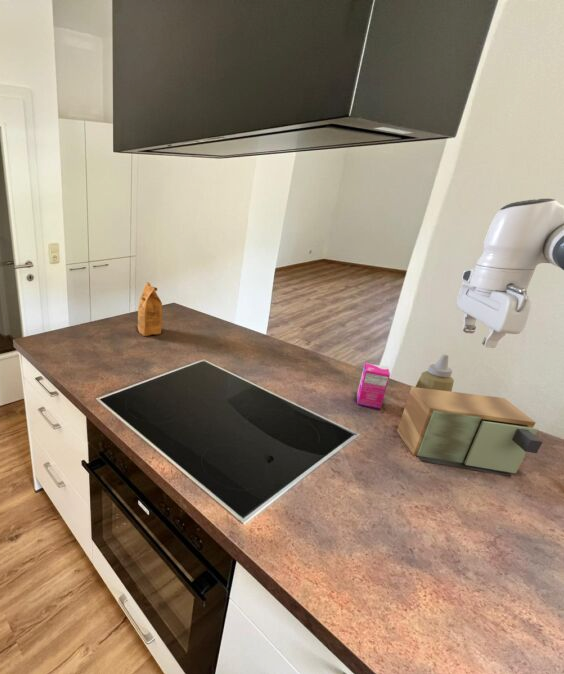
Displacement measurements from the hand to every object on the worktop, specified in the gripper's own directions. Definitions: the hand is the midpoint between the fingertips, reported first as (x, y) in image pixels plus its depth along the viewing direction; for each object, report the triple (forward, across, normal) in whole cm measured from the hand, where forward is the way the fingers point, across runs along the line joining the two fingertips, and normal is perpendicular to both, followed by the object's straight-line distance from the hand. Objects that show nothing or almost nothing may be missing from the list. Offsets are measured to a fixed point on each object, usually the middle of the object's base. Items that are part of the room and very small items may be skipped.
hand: (477, 339), depth 82 cm
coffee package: (+25, +45, +92) cm, 105 cm away
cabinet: (+26, -8, +1) cm, 27 cm away
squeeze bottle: (+26, +8, +1) cm, 27 cm away
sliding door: (+25, -15, -4) cm, 30 cm away
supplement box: (+26, +10, +14) cm, 31 cm away
